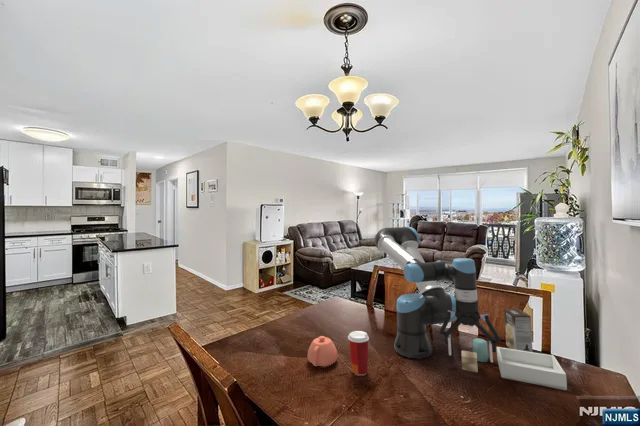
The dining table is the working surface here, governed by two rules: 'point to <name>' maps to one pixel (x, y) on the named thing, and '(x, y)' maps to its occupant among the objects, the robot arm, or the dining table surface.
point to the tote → (531, 368)
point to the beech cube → (469, 361)
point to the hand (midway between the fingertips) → (470, 357)
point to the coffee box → (518, 330)
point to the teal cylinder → (480, 349)
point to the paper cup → (359, 351)
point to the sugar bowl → (322, 352)
